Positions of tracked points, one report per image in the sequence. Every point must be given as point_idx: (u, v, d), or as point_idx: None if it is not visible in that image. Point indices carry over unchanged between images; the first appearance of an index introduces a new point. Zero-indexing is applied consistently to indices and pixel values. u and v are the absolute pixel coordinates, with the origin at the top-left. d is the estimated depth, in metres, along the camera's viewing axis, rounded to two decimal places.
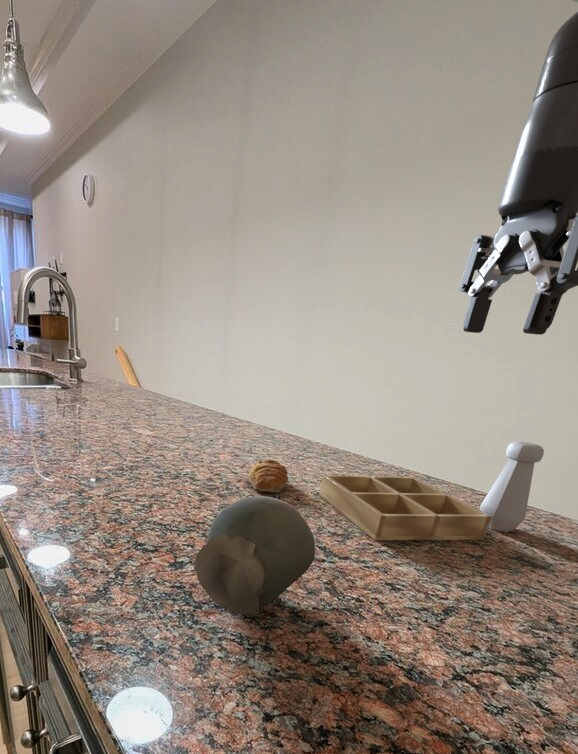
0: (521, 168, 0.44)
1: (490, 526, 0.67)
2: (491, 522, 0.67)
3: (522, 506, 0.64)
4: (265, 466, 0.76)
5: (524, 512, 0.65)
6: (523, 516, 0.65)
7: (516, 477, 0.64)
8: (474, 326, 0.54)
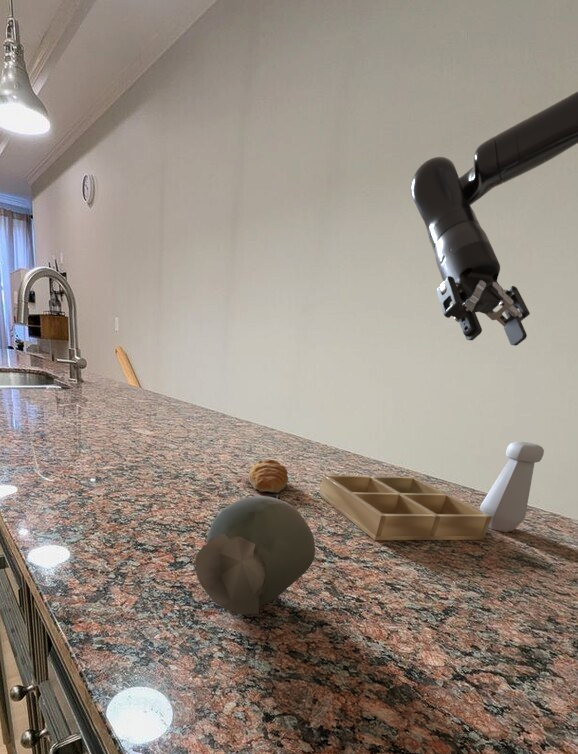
0: None
1: (490, 526, 0.67)
2: (491, 522, 0.67)
3: (522, 506, 0.64)
4: (265, 466, 0.76)
5: (524, 512, 0.65)
6: (523, 516, 0.65)
7: (516, 477, 0.64)
8: (515, 339, 0.69)
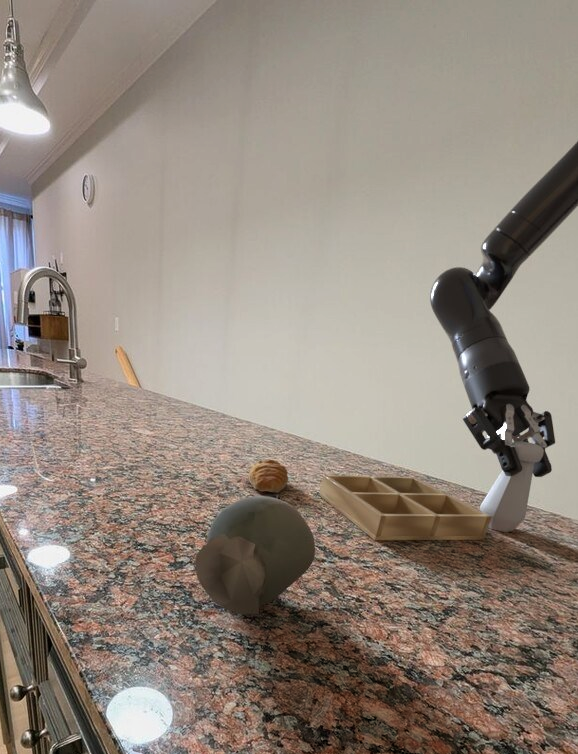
0: None
1: (490, 526, 0.67)
2: (491, 522, 0.67)
3: (522, 506, 0.64)
4: (265, 466, 0.76)
5: (524, 512, 0.65)
6: (523, 516, 0.65)
7: (516, 477, 0.64)
8: (538, 471, 0.64)
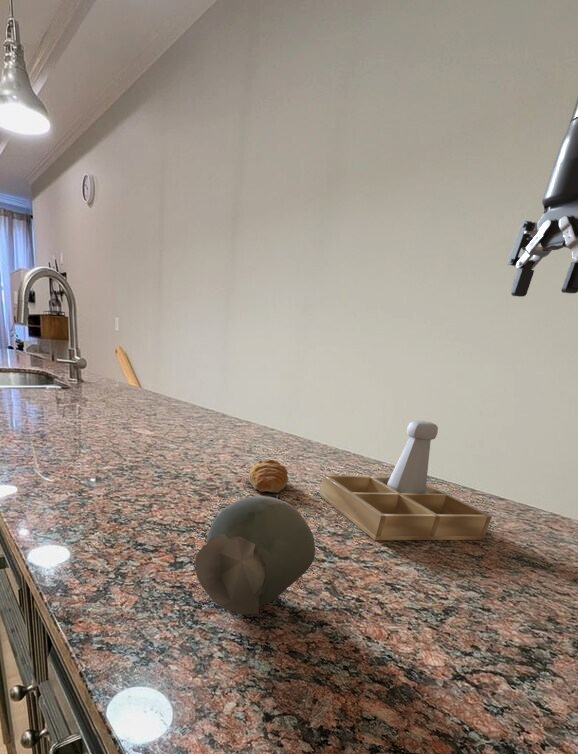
0: (561, 170, 0.60)
1: None
2: None
3: (420, 481, 0.69)
4: (265, 466, 0.76)
5: (424, 486, 0.70)
6: (423, 490, 0.70)
7: (414, 453, 0.69)
8: (520, 291, 0.70)
